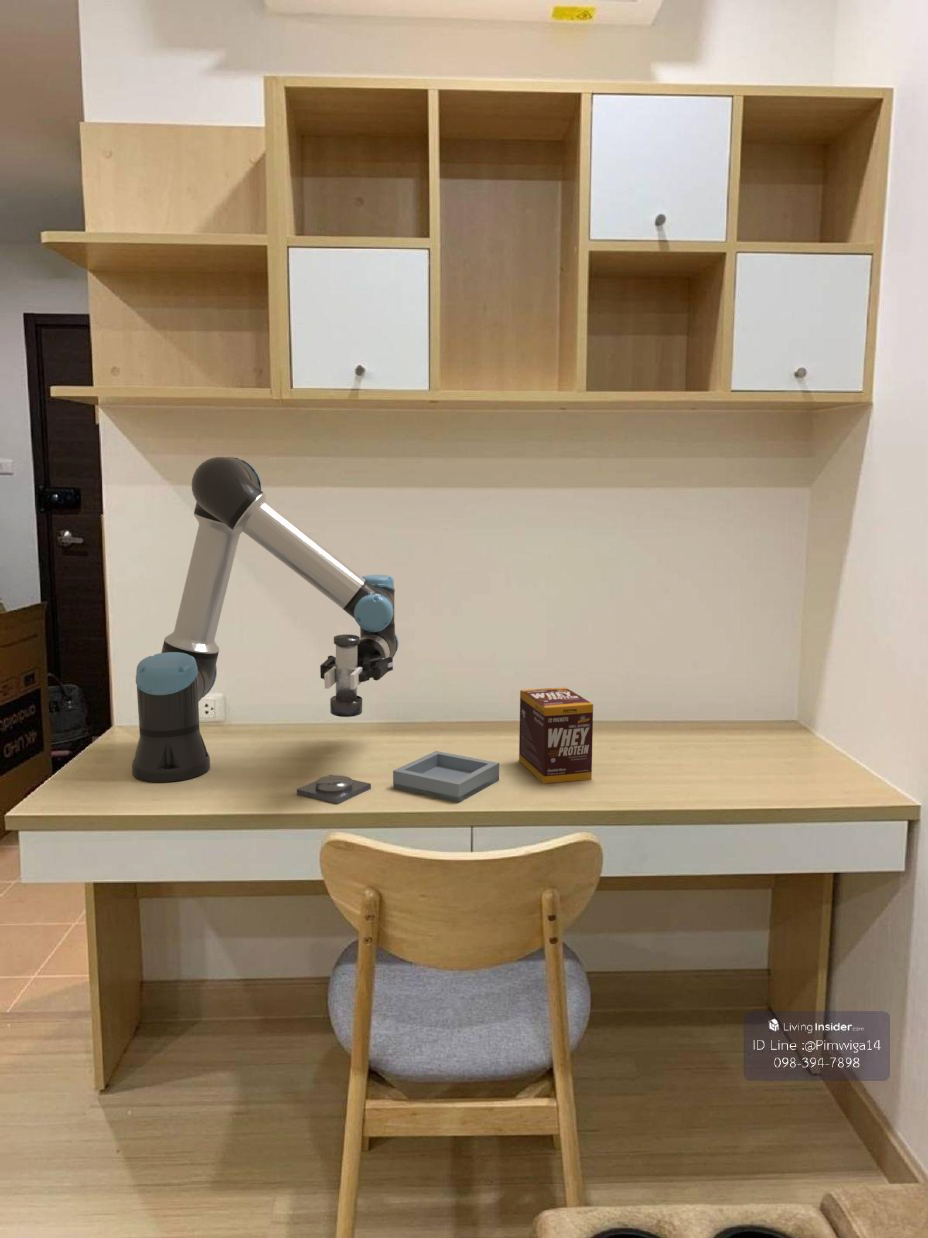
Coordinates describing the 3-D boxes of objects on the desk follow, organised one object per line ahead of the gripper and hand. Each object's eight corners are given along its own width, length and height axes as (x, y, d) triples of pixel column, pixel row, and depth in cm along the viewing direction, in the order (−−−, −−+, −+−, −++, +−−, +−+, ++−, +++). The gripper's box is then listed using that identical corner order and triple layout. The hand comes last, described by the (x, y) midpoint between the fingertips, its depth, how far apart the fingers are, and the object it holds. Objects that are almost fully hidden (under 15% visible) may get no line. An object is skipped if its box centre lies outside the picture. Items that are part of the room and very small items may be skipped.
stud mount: (296, 794, 175) (296, 784, 175) (330, 779, 184) (330, 769, 184) (337, 804, 170) (337, 793, 170) (370, 788, 179) (370, 778, 178)
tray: (393, 788, 179) (393, 770, 178) (436, 767, 192) (436, 750, 191) (458, 802, 171) (458, 784, 171) (499, 779, 184) (499, 762, 183)
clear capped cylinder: (324, 713, 174) (324, 639, 171) (340, 704, 179) (341, 632, 176) (351, 718, 172) (352, 643, 168) (367, 709, 177) (368, 636, 174)
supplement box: (543, 784, 181) (544, 707, 179) (518, 761, 196) (519, 689, 193) (592, 780, 184) (594, 703, 182) (564, 757, 199) (565, 686, 196)
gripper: (409, 675, 191) (386, 703, 168) (327, 673, 193) (294, 700, 170) (408, 639, 190) (385, 662, 167) (326, 637, 192) (292, 660, 169)
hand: (339, 681), depth 169 cm, fingers closed on clear capped cylinder, 4 cm apart
